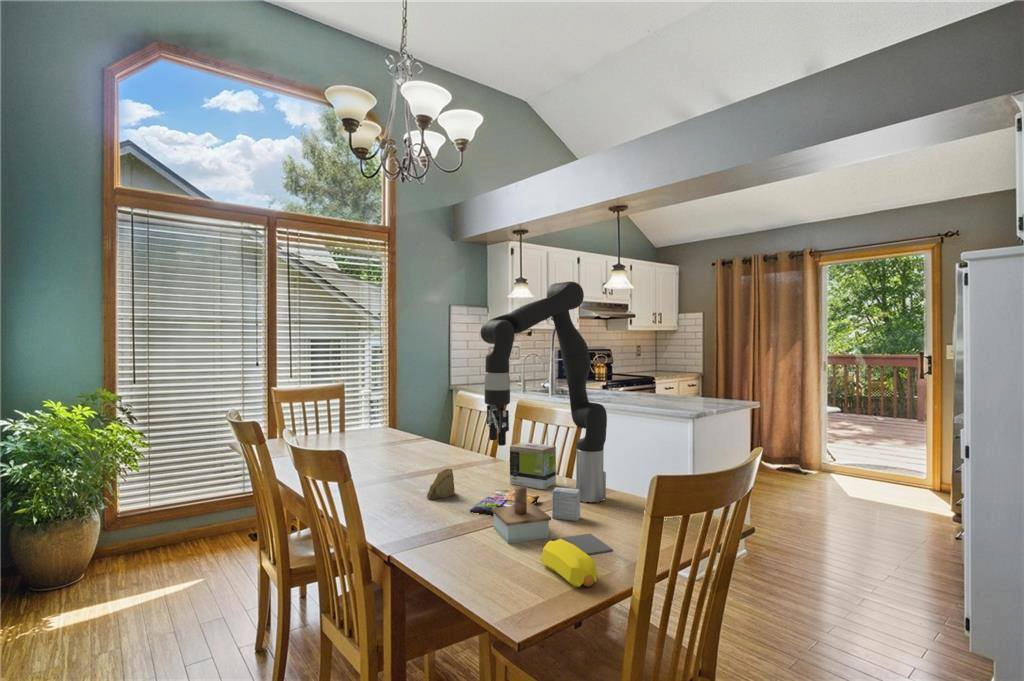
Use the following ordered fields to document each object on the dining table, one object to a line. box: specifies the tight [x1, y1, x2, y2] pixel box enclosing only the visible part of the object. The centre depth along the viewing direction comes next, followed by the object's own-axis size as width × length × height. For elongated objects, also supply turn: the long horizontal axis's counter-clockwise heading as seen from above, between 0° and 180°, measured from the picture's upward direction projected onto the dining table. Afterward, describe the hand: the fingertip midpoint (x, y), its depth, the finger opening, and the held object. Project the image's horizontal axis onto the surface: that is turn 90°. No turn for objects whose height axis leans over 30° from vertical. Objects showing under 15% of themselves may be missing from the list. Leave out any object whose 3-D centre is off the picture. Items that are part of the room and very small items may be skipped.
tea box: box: [509, 441, 557, 490], centre depth 202 cm, size 15×10×15 cm, turn 58°
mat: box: [551, 532, 614, 556], centre depth 143 cm, size 12×12×1 cm
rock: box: [426, 468, 456, 500], centre depth 187 cm, size 11×9×10 cm
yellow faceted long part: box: [540, 539, 598, 588], centre depth 126 cm, size 18×7×8 cm
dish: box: [493, 514, 550, 545], centre depth 152 cm, size 12×12×5 cm
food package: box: [469, 489, 540, 517], centre depth 175 cm, size 22×25×4 cm
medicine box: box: [551, 486, 581, 522], centre depth 165 cm, size 8×4×9 cm, turn 71°
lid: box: [492, 485, 552, 526], centre depth 152 cm, size 13×13×8 cm
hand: (497, 442), depth 158 cm, fingers open, 8 cm apart
